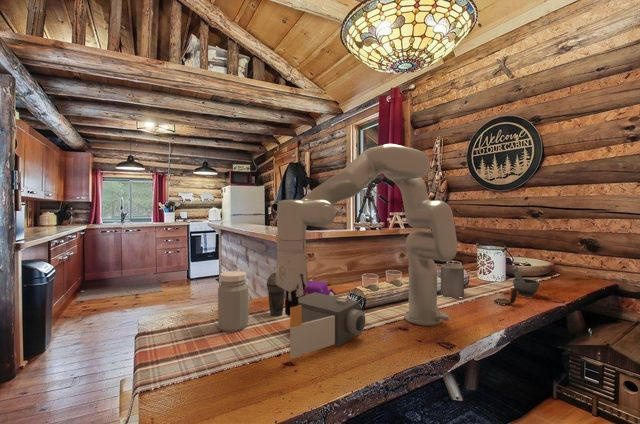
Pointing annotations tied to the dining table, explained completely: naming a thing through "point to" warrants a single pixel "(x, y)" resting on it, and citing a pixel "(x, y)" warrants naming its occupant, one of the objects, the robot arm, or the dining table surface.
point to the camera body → (334, 314)
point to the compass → (505, 301)
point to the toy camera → (317, 288)
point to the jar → (232, 301)
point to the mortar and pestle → (524, 284)
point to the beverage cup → (275, 296)
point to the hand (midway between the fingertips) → (291, 314)
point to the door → (309, 333)
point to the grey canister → (452, 280)
